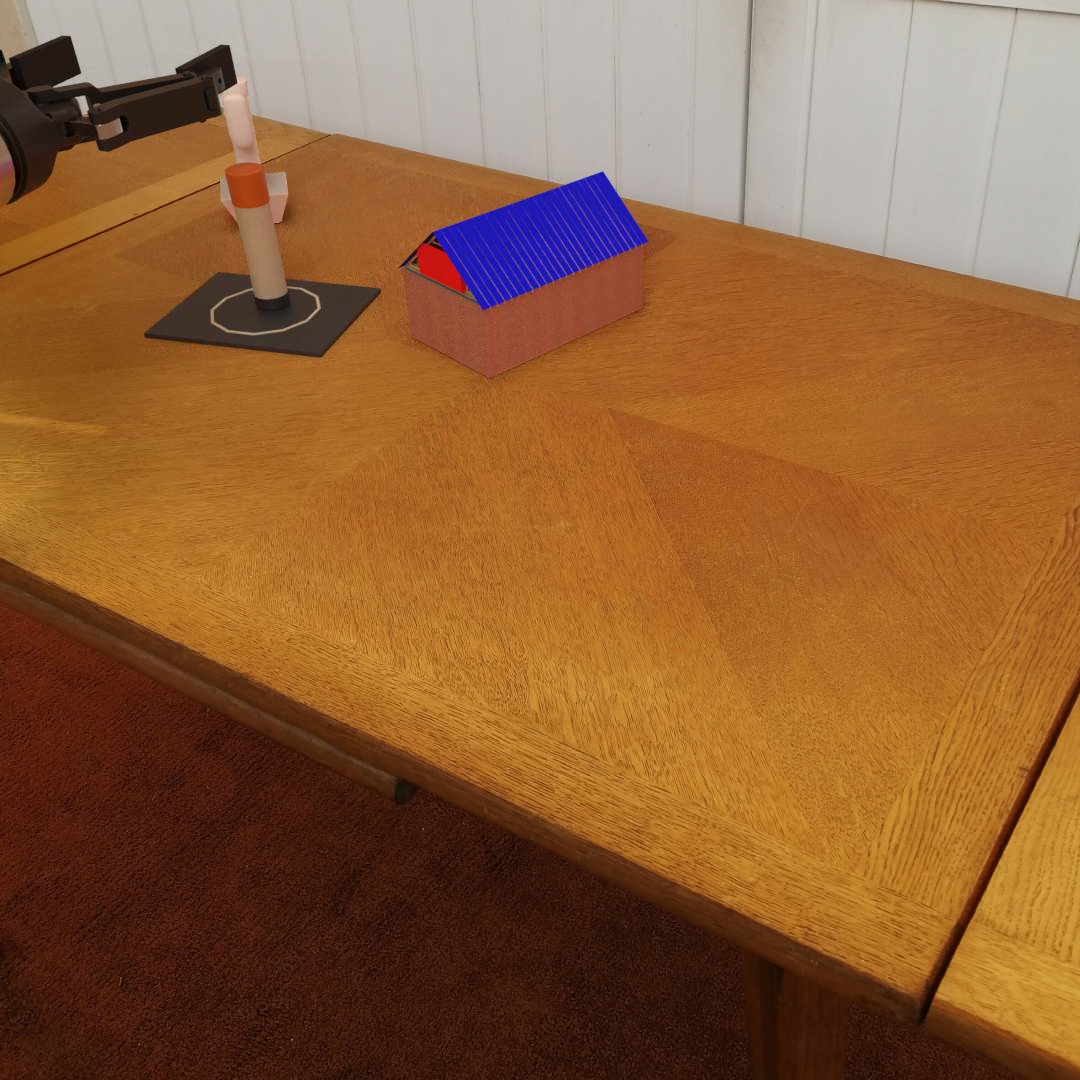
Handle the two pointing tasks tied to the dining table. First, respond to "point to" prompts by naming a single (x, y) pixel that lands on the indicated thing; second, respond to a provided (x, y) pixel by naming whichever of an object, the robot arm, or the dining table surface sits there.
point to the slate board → (265, 316)
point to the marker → (258, 234)
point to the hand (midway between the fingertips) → (149, 59)
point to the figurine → (248, 148)
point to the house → (526, 276)
